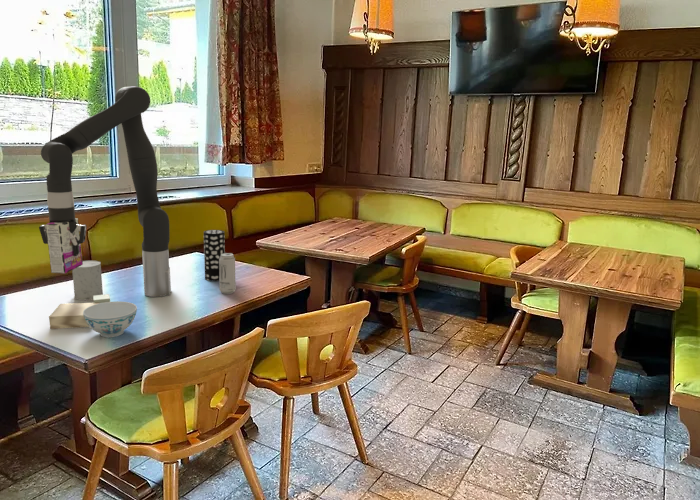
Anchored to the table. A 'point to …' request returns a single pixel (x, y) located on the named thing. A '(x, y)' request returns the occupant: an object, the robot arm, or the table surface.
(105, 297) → the brick
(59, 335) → the table surface
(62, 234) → the candy bar box
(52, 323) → the pedestal
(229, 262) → the energy drink can
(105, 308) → the chinaware
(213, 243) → the white-spotted black cylinder
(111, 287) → the table surface
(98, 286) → the speckled grey cylinder
